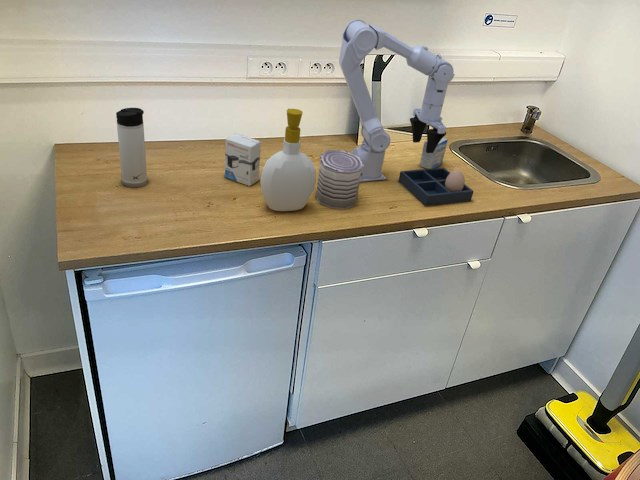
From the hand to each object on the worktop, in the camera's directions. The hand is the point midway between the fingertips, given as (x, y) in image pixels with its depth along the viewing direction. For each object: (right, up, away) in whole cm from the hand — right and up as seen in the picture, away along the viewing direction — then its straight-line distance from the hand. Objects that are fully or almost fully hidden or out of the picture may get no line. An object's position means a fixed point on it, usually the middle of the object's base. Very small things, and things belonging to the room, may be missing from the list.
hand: (422, 147), depth 162 cm
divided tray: (+3, -13, -2) cm, 14 cm away
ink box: (-52, -11, -10) cm, 54 cm away
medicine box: (+5, -4, +13) cm, 14 cm away
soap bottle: (-40, -19, -20) cm, 48 cm away
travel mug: (-79, -12, -18) cm, 82 cm away
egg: (+8, -14, -4) cm, 17 cm away
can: (-26, -17, -13) cm, 34 cm away
